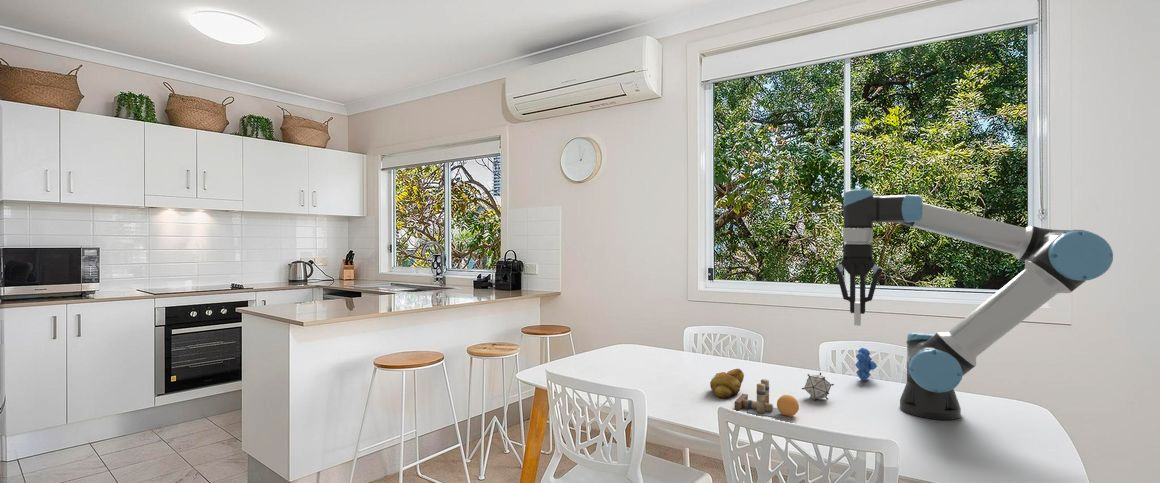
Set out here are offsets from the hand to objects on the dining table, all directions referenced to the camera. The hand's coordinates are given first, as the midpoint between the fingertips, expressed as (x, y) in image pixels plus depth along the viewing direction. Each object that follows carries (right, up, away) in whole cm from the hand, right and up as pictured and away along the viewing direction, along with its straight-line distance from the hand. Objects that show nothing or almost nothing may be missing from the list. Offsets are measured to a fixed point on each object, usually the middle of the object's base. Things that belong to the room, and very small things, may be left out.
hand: (857, 324), depth 157 cm
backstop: (-31, -26, +9) cm, 42 cm away
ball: (-20, -24, +1) cm, 31 cm away
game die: (-5, -26, +16) cm, 31 cm away
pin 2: (-24, -26, +7) cm, 37 cm away
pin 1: (-27, -27, +3) cm, 38 cm away
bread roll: (-33, -26, +22) cm, 47 cm away
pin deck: (-24, -27, +4) cm, 36 cm away
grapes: (+21, -26, +34) cm, 48 cm away
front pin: (-23, -25, +4) cm, 35 cm away
